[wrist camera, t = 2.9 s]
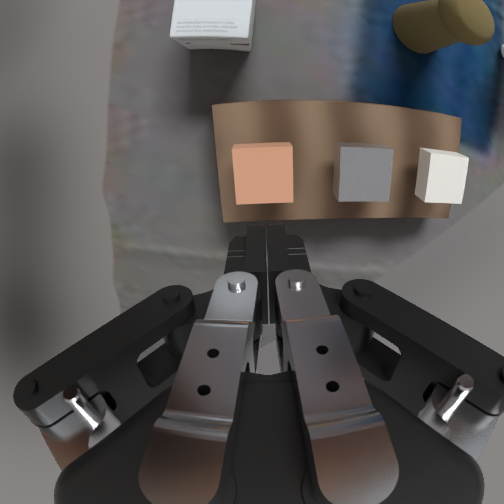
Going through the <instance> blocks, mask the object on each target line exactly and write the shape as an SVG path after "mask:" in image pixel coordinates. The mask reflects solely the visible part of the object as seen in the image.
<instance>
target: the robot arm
mask: <svg viewBox="0 0 504 504" xmlns="http://www.w3.org/2000/svg"><path fill="white" fill-rule="evenodd" d="M266 225H267V251H268V278H269V308H270V324H273V323H276V344H277V351H278V358H279V365H280V371H281V373H278V374H273V375H262V374H258V366H259V356H260V347H261V334H262V324H268V301H267V266H266V240H265V224H262V225H248V227H247V236H246V237H235V238H234V239H233V240H232V241H231V242H230V243H229V249H228V254H227V260H226V265H225V271H224V275H223V276H221V277H220V278H219V279H218V280H217V282H216V284H215V287H214V289H213V290H211V291H209V292H206V293H202V294H198V295H193V294H192V292H191V290H190V289H189V288H187V287H185V286H181V285H172V286H168V287H165V288H162V289H160V290H159V291H157V292H155V293H154V294H152V295H151V296H149V297H147V298H146V299H144V300H143V301H141V302H139V303H138V304H136V305H135V306H133V307H131V308H130V309H128V310H127V311H125V312H124V313H122V314H120V315H119V316H117V317H116V318H114V319H113V320H111V321H109V322H108V323H106V324H105V325H103V326H102V327H100V328H98V329H97V330H96V331H94V332H92V333H91V334H89V335H87V336H86V337H84V338H83V339H81V340H80V341H78V342H77V343H75V344H74V345H72V346H70V347H69V348H67V349H66V350H64V351H63V352H61V353H60V354H58V355H57V356H55V357H54V358H52V359H50V360H49V361H48V362H46V363H44V364H43V365H41V366H40V367H38V368H37V369H35V370H34V371H32V372H31V373H29V374H28V375H26V376H25V377H23V378H22V379H21V380H20V381H19V382H18V384H17V385H16V387H15V390H14V394H13V398H14V402H15V404H16V406H17V407H18V408H19V409H20V410H21V411H22V412H23V413H24V414H25V415H26V416H27V417H28V418H29V419H30V421H31V422H32V423H33V424H34V425H35V426H36V427H37V428H38V429H39V430H40V431H41V434H42V436H43V438H44V439H45V442H46V444H47V445H48V447H49V449H50V451H51V453H52V455H53V456H54V458H55V460H56V462H57V464H58V465H59V467H60V469H61V470H62V472H61V474H60V476H59V477H58V479H57V482H56V485H55V489H54V503H55V504H482V500H483V496H484V478H483V473H482V471H481V469H480V467H479V465H478V463H477V460H478V458H479V457H480V455H481V453H482V451H483V449H484V447H485V445H486V443H487V441H488V439H489V437H490V435H491V433H492V431H493V429H494V427H495V424H496V422H497V420H498V418H499V417H500V416H501V415H502V414H503V412H504V357H503V356H502V355H500V354H498V353H497V352H495V351H493V350H492V349H490V348H489V347H487V346H485V345H483V344H482V343H480V342H478V341H477V340H475V339H473V338H472V337H470V336H468V335H467V334H465V333H463V332H461V331H460V330H458V329H456V328H455V327H452V326H451V325H449V324H448V323H446V322H444V321H442V320H441V319H439V318H437V317H435V316H433V315H432V314H430V313H428V312H426V311H425V310H423V309H421V308H419V307H417V306H416V305H414V304H412V303H410V302H409V301H407V300H405V299H403V298H402V297H400V296H398V295H396V294H394V293H392V292H391V291H389V290H387V289H385V288H383V287H381V286H380V285H378V284H376V283H374V282H372V281H369V280H364V279H355V280H351V281H348V282H347V283H345V284H344V286H343V287H342V290H339V289H333V288H328V287H325V286H322V285H320V284H319V283H318V280H317V278H316V277H315V276H314V275H313V274H312V273H311V270H310V266H309V262H308V258H307V254H306V250H305V246H304V242H303V240H302V239H301V238H300V237H299V236H298V235H285V229H284V224H266ZM374 332H376V333H377V334H379V335H380V336H382V337H384V338H385V339H387V340H388V341H390V342H391V343H393V344H394V345H396V346H397V347H398V348H399V350H400V352H401V355H400V354H398V353H397V352H395V351H394V350H392V349H391V348H389V347H388V346H386V345H384V344H383V343H381V342H380V341H378V340H377V339H375V338H373V334H374ZM162 338H164V340H165V343H164V344H163V345H162V346H160V347H159V348H157V349H156V350H155V351H153V352H152V353H151V354H149V355H148V356H146V357H145V358H144V359H142V360H141V361H139V362H138V363H137V359H138V357H139V355H140V354H141V353H142V352H143V351H145V350H146V349H148V348H149V347H150V346H152V345H153V344H155V343H156V342H157V341H159V340H160V339H162ZM363 378H364V379H363Z"/></svg>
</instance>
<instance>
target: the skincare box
mask: <svg viewBox="0 0 504 504" xmlns="http://www.w3.org/2000/svg"><path fill="white" fill-rule="evenodd" d="M255 5H256V0H174V6H173V15H172V23H171V31H170V38H172V39H174V40H175V41H177V42H179V43H180V44H182V45H183V46H185V47H186V48H188V49H228V50H239V51H248V52H249V51H251V44H252V35H253V26H254V17H255Z"/></svg>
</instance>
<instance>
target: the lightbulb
mask: <svg viewBox="0 0 504 504" xmlns="http://www.w3.org/2000/svg"><path fill="white" fill-rule="evenodd" d="M501 53H502V56H503V58H504V44H503V45H502V46H501Z"/></svg>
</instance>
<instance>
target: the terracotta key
mask: <svg viewBox="0 0 504 504" xmlns="http://www.w3.org/2000/svg"><path fill="white" fill-rule="evenodd" d="M232 159H233V171H234V183H235V195H236V205H239V204H261V203H290V202H293V146H292V145H291V143H290V142H273V143H250V144H234V146H233V148H232Z"/></svg>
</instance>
